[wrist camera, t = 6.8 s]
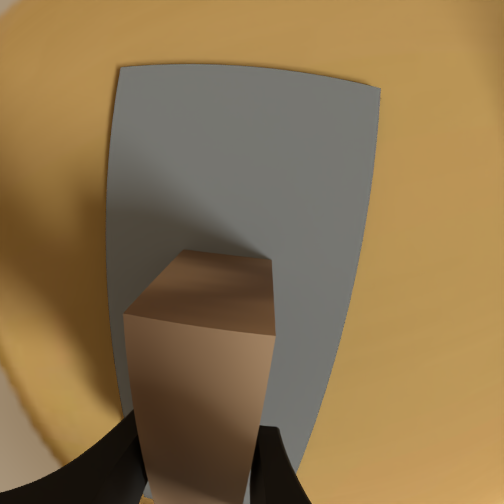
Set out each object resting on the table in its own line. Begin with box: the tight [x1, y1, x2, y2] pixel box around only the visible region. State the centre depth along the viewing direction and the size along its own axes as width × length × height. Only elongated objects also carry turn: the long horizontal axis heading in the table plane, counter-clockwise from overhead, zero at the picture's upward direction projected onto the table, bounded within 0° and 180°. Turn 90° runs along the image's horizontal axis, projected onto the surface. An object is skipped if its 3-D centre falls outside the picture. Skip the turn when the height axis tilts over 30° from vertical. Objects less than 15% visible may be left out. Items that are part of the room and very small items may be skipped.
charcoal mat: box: [106, 64, 381, 504], centre depth 12 cm, size 24×9×1 cm, turn 174°
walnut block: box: [123, 249, 276, 504], centre depth 10 cm, size 3×11×5 cm, turn 174°
